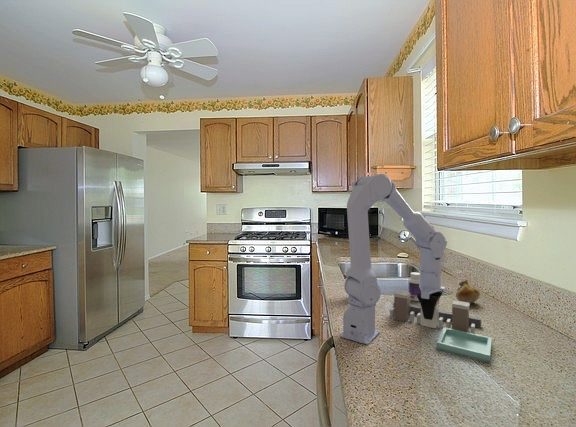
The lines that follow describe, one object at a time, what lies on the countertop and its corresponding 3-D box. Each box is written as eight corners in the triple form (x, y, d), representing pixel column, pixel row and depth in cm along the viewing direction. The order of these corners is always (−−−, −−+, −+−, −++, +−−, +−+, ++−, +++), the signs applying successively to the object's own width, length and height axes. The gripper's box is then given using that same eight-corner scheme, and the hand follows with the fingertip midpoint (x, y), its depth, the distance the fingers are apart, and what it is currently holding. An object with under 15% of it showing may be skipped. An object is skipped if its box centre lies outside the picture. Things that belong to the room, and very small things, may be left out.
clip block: (478, 336, 81) (479, 328, 81) (386, 316, 96) (386, 308, 96) (481, 325, 89) (481, 317, 89) (395, 307, 103) (395, 301, 103)
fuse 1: (406, 321, 92) (407, 295, 91) (393, 318, 94) (394, 293, 94) (410, 317, 95) (410, 292, 94) (397, 315, 97) (397, 290, 97)
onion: (451, 303, 108) (451, 281, 108) (459, 298, 114) (459, 277, 113) (475, 308, 103) (475, 285, 102) (482, 303, 108) (482, 281, 108)
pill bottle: (426, 301, 110) (426, 275, 109) (411, 301, 110) (411, 275, 110) (420, 296, 115) (420, 271, 115) (405, 296, 115) (406, 271, 115)
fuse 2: (467, 335, 82) (468, 306, 82) (451, 331, 84) (452, 303, 84) (469, 330, 85) (469, 302, 85) (453, 327, 88) (454, 300, 87)
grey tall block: (436, 328, 87) (436, 301, 86) (420, 325, 89) (420, 298, 89) (438, 323, 90) (439, 297, 90) (423, 320, 93) (423, 294, 92)
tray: (489, 363, 68) (489, 355, 68) (436, 349, 74) (436, 342, 74) (491, 344, 77) (491, 337, 77) (443, 333, 83) (444, 327, 83)
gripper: (441, 278, 81) (440, 327, 81) (449, 268, 92) (448, 311, 93) (413, 274, 85) (412, 321, 85) (424, 265, 97) (424, 307, 97)
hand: (429, 316), depth 89 cm, fingers closed on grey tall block, 4 cm apart
